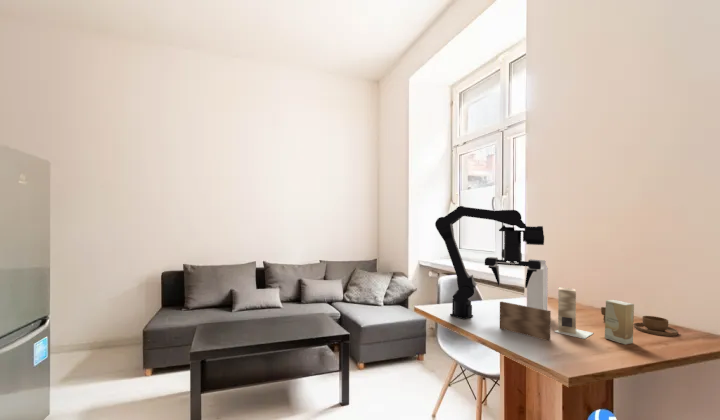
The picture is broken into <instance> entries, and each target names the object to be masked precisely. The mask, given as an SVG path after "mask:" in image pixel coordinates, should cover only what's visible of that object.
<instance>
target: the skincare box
mask: <svg viewBox="0 0 720 420" xmlns="http://www.w3.org/2000/svg"><path fill="white" fill-rule="evenodd" d="M605 307H606V311H605V322H604V339H607V340H610V341H613V342H616V343H620V344H622V345H629V344H633V343H634V323H635V322H634V321H635V320H634V316H635V315H634V314H635V304H634V303H632V302H631V303H630V302H626V301H621V300H618V299H617V300H616V299H609V300H608V299H607V300H605Z"/></svg>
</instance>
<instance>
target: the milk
mask: <svg viewBox="0 0 720 420" xmlns="http://www.w3.org/2000/svg"><path fill="white" fill-rule="evenodd" d="M529 260H535V259H533V258H529ZM539 260H540V261H541V269H537V271H536V272H533V273H532V275H531V277H530V279H529V282H528V285H527V288H526V306H527V307H532V308H537V309H543V310H548V291H549V290H548V284H549V283H548V281H549V280H548V279H549V278H548V273H549V272H548V269H549V268H548V266H547V263H546V261H547V260H543V259H539ZM528 268H529V267H528V266H526V270H527V269H528Z"/></svg>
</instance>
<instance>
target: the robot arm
mask: <svg viewBox="0 0 720 420" xmlns="http://www.w3.org/2000/svg"><path fill="white" fill-rule="evenodd" d="M463 217H468V218H474V219H475V218H476V219H483V220H491V221H496V222H498V223H502V224H503V225H502V226H501V227H500V228H499V229H498V231H499V232H504V233H503V235H504V237H503V248H502V250H501V258H502V259H499V257H498V256H497V257H494V256H487V257H486V258H484V266H488V267H487V268H488V269H491V271H492V273H493V275H494V277H495V281H496V283H497V285H498V286H501V285H500V283H501V280H500V271H499V270H500V269H499V265H504V266H515V267H516V266H518V267H529V268H528V269H527V268H526V276H525V282H524V286H525V287H524V288H525V289H527V285H528V282H529V279H530V277H531V275H532V273H533V272H536V271H537V269H541V261H540V260H541V259H534V260H530V259H528V260H523V254H522V241H523V242H525V245H530V246H531V245H532V246H544V245H545V234H544V226H543V225H537V226H527V225H526V223H524V221H523V220H522V214H521V212H519V211H518V210H515V209H502V210H501V209H500V210H492V209H486V208H485V209H483V208H476V207H475V208H474V207H468V206H463V205H459V206H457V207H456V208H455V209H454V210H453V211H451V212H449V213H448V214H446V215H445V216H440V217H438V218H437V219H436V220H435V223H434V225H435V228H436V230H437V232H438V234H439V236H440V237H441V238H442V240H443V241H444V243H445V246H446V249H447V252H448V255H449V258H450V261H451V263H452V266H453V268H454V272H455V275H456V283H457V284H456V285H457V290H456V291H455V292H454V293H453V295H452V307H451V309H452V310H451V311H452V313H450V314H449V316H451V317H454V318H455V317H456V318H459V319H468V318H471V317H472V318H473V317H474V314H473V305H472V300H470V298H472V297H473V296H474V294H475V293H476V286H477V283H476V281H475V277H474V275H473V274H472V275H469V273H468V271H467V269H466V267H465V264H464V261H463V257H462V256H461V253H460V250H459V247H458V244H457V242H456V239H455V233H454V232H455V231H454V224H455V223H457V222H458V221H459V220H460V219H462V218H463ZM505 225H507V226H505ZM508 225H510V226H508ZM514 226H516V227H517V228H519V229H520V230H519V229H518V230H517V229H515V227H514ZM521 229H522V230H521ZM523 229H524V230H523Z"/></svg>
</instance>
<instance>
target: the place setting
mask: <svg viewBox="0 0 720 420" xmlns="http://www.w3.org/2000/svg"><path fill="white" fill-rule="evenodd" d="M605 311H606V306H605V307H604V306H602V307H600V312H601V315H602V316H603V323H605ZM641 321H642V322H634V323H633V328H634V329H635V330H636V331H640V332H642V333H646V334H650V335H656V336H662V337H663V336H664V337H676V336H677V335H678V334H679V330H677V329H676V328H674V327H671V326H669V320H668V319H667V318H664V317H663V318H662V317H660V316H655V315H654V316H653V315H643V316H642V319H641ZM642 327H643V328H642ZM664 331H666V332H664ZM667 331H668V332H667Z"/></svg>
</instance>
